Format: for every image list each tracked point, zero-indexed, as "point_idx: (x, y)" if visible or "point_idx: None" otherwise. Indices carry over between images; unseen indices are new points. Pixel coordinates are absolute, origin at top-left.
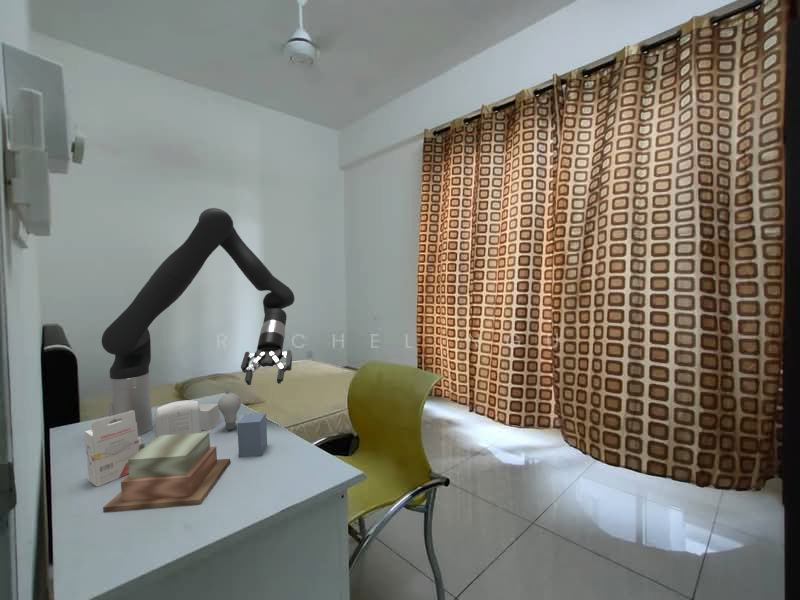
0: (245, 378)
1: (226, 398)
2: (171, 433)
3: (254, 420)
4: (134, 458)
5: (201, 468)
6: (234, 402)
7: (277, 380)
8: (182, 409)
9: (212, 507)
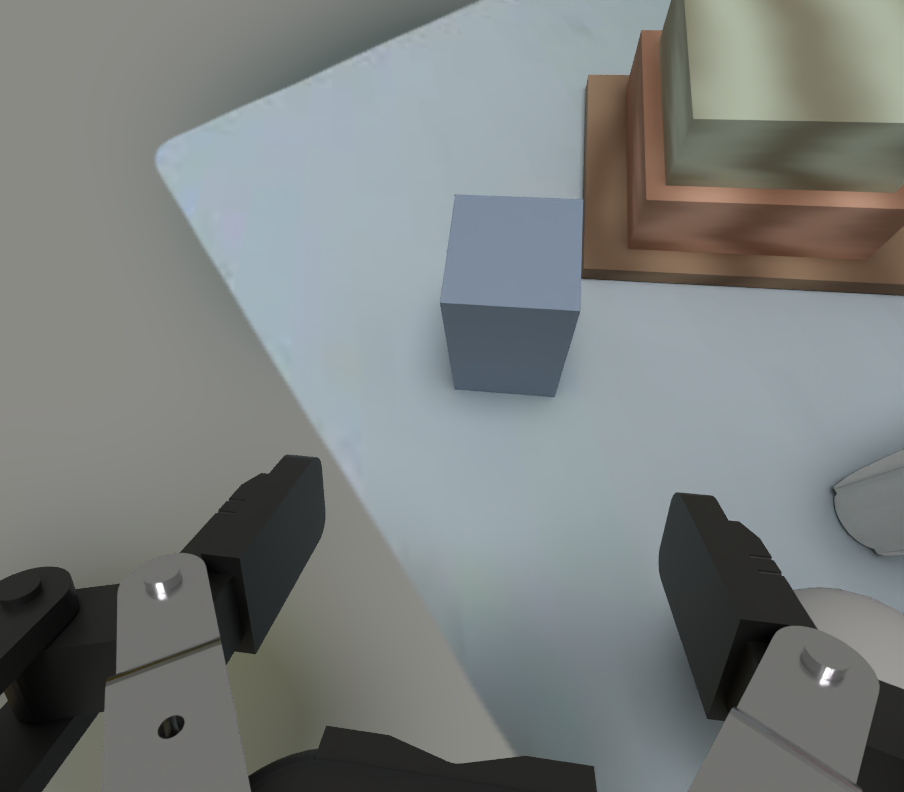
0: (757, 545)
1: (885, 627)
2: None
3: (490, 216)
4: None
5: (638, 107)
6: None
7: (311, 458)
8: None
9: (547, 75)
